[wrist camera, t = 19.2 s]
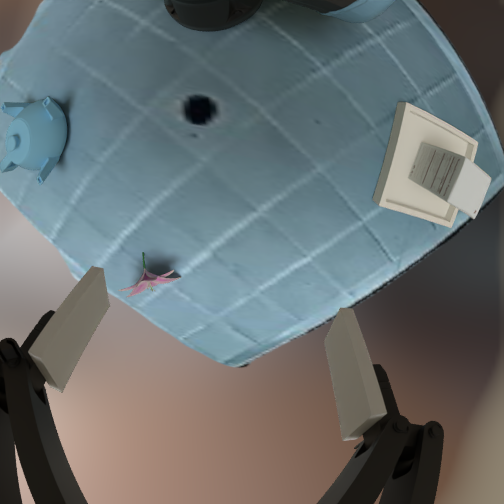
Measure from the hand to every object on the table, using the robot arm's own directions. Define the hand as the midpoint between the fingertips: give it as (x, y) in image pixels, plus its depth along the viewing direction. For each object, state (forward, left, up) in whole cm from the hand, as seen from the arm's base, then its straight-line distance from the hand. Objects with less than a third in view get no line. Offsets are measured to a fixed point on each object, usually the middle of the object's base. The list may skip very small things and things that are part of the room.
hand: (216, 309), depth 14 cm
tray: (-9, +31, -32) cm, 45 cm away
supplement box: (-9, +31, -31) cm, 45 cm away
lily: (+21, -15, -32) cm, 41 cm away
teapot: (-5, -40, -32) cm, 51 cm away
